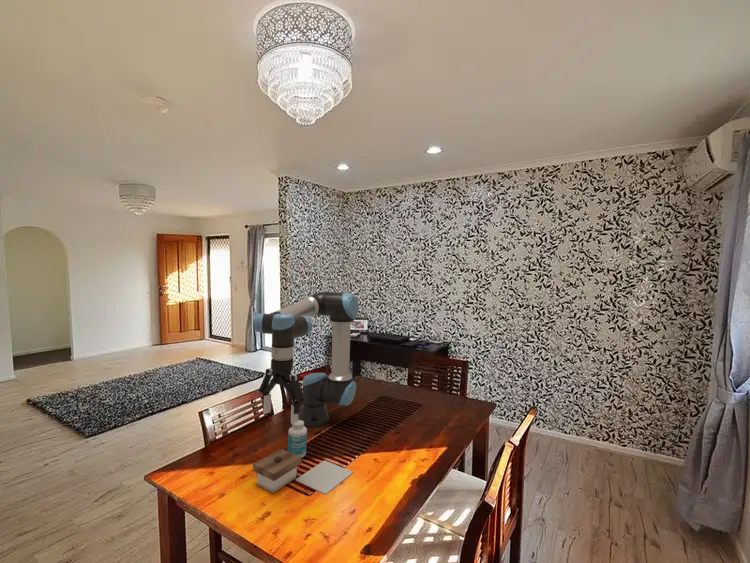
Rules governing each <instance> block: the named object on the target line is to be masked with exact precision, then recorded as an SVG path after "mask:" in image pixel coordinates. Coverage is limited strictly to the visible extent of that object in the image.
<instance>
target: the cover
mask: <svg viewBox="0 0 750 563" xmlns="http://www.w3.org/2000/svg"><path fill="white" fill-rule="evenodd" d="M302 458H303V457H300V456H297V455H295V454H293V453H290V452H288V450H285V449H284V448H280V449H278V450H276V451H274V452H273V453H271V454H268V455H267V456H265V457H263V458H261V459H259V460H257V461H255V462H253V464H252V472H254V473H258V474H260V475H262V476H264V477H266V478H268V479H270V480H272V481H275V480H277V479H278V478H280V477H281V476H283V475H285V474H286V473H288V472H289V471H291V470H293V469H294V468H296V467H297V468H298V467H299V466H300V465H302Z"/></svg>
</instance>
